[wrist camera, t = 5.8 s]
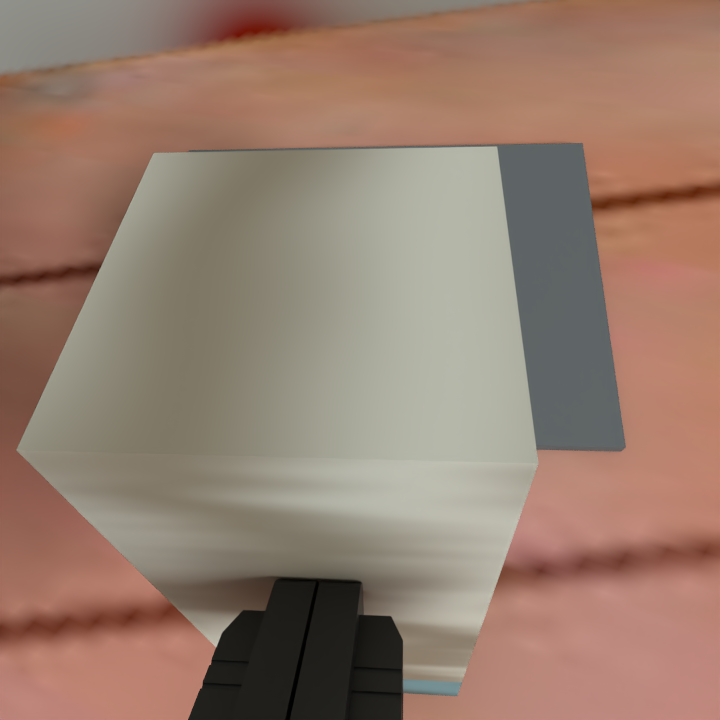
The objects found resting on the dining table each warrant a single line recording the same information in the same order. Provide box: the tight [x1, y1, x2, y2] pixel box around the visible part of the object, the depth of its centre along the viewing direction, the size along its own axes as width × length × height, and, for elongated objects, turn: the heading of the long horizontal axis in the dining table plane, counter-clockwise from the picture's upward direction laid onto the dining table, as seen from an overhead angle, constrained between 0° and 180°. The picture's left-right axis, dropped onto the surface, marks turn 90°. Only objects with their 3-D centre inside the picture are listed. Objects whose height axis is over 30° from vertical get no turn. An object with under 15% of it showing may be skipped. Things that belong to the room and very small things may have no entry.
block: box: [16, 146, 538, 696], centre depth 14 cm, size 6×6×14 cm
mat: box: [189, 143, 626, 451], centre depth 25 cm, size 18×14×1 cm
